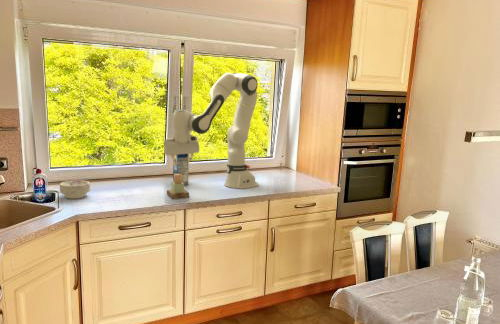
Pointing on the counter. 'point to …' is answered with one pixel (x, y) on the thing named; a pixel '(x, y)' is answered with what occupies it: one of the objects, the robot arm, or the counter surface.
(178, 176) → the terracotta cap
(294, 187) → the counter surface
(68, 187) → the paper bowls
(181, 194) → the walnut plinth
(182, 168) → the beverage box
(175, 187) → the green block
